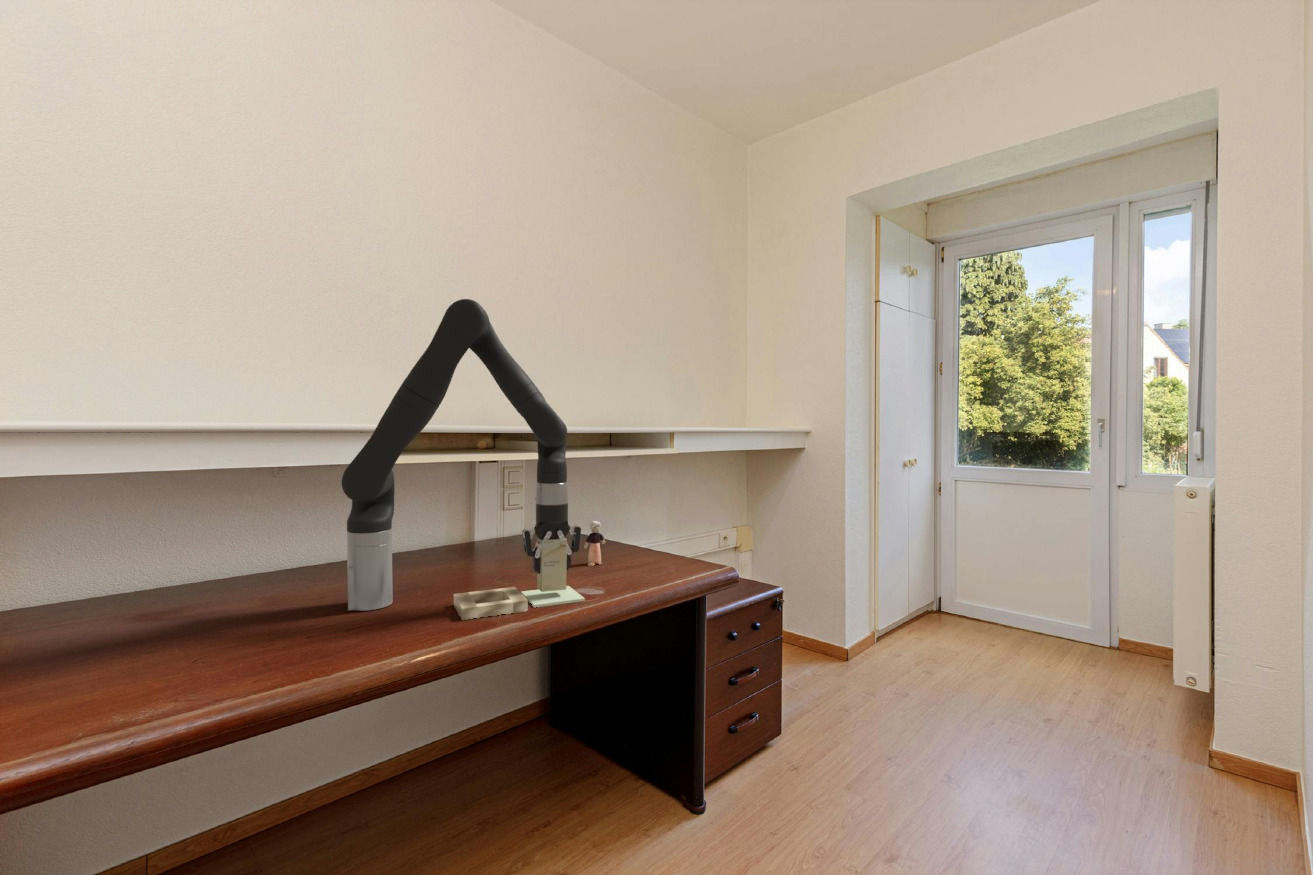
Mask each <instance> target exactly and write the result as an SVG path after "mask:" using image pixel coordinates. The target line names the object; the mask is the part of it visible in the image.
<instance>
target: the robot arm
mask: <svg viewBox="0 0 1313 875" xmlns="http://www.w3.org/2000/svg"><path fill="white" fill-rule="evenodd" d="M469 349H470V351H472V352H473V353H474V354H475V355H476V356H477V357H478V359H479V360H480V361H481V362H482V363H483V365H484V366H485V368H486V369H487V370H488V372H489V373H490V375H491V376H492V378H493V380H494V381H495V383H496V384H497V385H498V387H499V390H501V392H502V393H503V394H504V396H505V397H506V399H507V400H508V401H509V403H510V404H511V405H512V406H513V408H514V409H515V411H516V412H517V413H518V414H519V415H520V416H521V417H522V419H524V421H525V422H526V424H527V425H528V427H529V428H530V429H531V431H532V433H533V435H535V437H536V438H537V440H536V442H537V445H536V446H537V462H536V463H537V464H536V487H535V526H534V527H533V528H531V529H523V530H522V541H523V542H522V543H523V550H524V554H525V555H526V556H528V557H531V558H532V570H533V571H534V572H535V574H540V567H541V558H540V555H541V548H542V543H540V544H539V540H538V538H539V539H540V540H549V539H565V538H566V537H567V535H568V534H570V535H572V536H571V543H570V545H571V546H569V543H568V542H567V565H566V572H568V571H569V569H570V568H571V567H572V554H574V553H578V552H579V550H580V543H581V535H582V532H581V531H582V528H581V527H580V526H578V525H573V526H572V525H570V524H569V491H568V490H569V489H568V467H567V460H566V455H567V454H566V450H567V436H568V427H567V426H566V424H565V422H564V420H562V418H561V417H560V416H559V415H558V414H557V412H556V411H555V410H554V409H553V407H552V406H551V405H550V404H549V403H548V402H547V400H546V398H545V397H544V395H543V393H542V392H541V391H540V389H539V388H538V387H537V386H536V384H535V383H534V382H533V380H532V379H531V378H530V377H529V375H528V374H527V373H526V371H525V370H524V369H523V368H522V367H521V365H520V364H519V363H518V362H517V361H516V360H515V359H514V358H513V356H512V355H511V354H510V353H509V351H508V350H507V349H506V347H505V346H504V344H503V343H502V341H501V340H500V338H499V336H498V334H497V333H496V331H495V328H494V326H493V325H492V323H491V321H490V318H489V314H488V313H487V312H486V310H485V308H483V307H482V305H481V304H480V303H478V302H477V301H476V300H473V299H470V298H461V299H458V300H455V301H454V302H452V303H451V304H450V305H449V306H448V307H447V309H446V311H445V313H444V315H443V317H442V319H441V321H440V323H439V325H438V326H437V329H436V331H435V333H434V335H433V337H432V339H431V340H430V342H429V345H428V346H427V348H426V349H425V351H424V352H423V354H422V355H421V356H420V357H419V359H417V362H416V363H415V364H414V366H413V367H412V368H411V370H410V371H409V373H408V374H407V376H406V378H404V380H403V381H402V383H401V385H400V386H399V388H398V390H396V393H395V394H394V396H393V397H392V399H391V401H390V403H389V405H388V406H387V408H386V410H385V411H384V412H383V415H382V416H381V418H380V420H379V421H378V424H377V425H376V427H375V429H374V431H373V433H372V435H371V436H370V438H369V439H368V440H367V441H366V443H365V444H364V446H363V447H362V448H361V449H360V451H359V452H358V453H357V455H356V456H355V457H354V458H353V460H351V462H350V463H349V464H348V466H347V467H346V468H345V470H344V471H343V474H342V477H341V488H342V492H343V493H344V495H345V497H346V496H347V498H348V499H350V500H351V510H350V513H349V515H348V517H347V520H346V540H347V541H346V542H347V545H346V546H347V547H346V550H347V552H346V555H347V556H346V557H347V559H346V560H347V565H346V566H347V572H346V573H347V611H361V612H362V611H374V610H378V609H383V608H386V607H388V606H391V605H392V604H393V602H394V601H393V599H394V598H393V594H394V592H393V533H392V532H393V529H392V528H393V525H392V523H393V518H394V517H393V516H394V512H395V489H396V488H395V475H394V472H393V468H394V466H395V464H396V463H397V460H399V457H400V456H401V455H402V453H403V451H404V450H405V449H406V448H407V447H408V446H409V445H410V444H411V443H412V442H413V441H414V439H416V437H418V435H419V434H421V432H422V431H423V430H424V429H425V428H426V427H427V425H428V424H429V422H430V421H431V419H432V418H433V417H434V415H435V413H436V412H437V410H438V409H439V407H440V406H441V405H442V402H443V400H444V398H445V397H446V394H447V392H448V389H449V387H450V385H451V382H452V379H453V377H454V374H455V371H456V368H457V367H458V365H459V363H460V361H461V360H462V358H463V357H464V356H465V354H466V353H467V351H468V350H469ZM569 532H570V533H569ZM534 535H536V537H537V540H536V542H535V547H534V548H533V547H532V539H533V538H534Z"/></svg>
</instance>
